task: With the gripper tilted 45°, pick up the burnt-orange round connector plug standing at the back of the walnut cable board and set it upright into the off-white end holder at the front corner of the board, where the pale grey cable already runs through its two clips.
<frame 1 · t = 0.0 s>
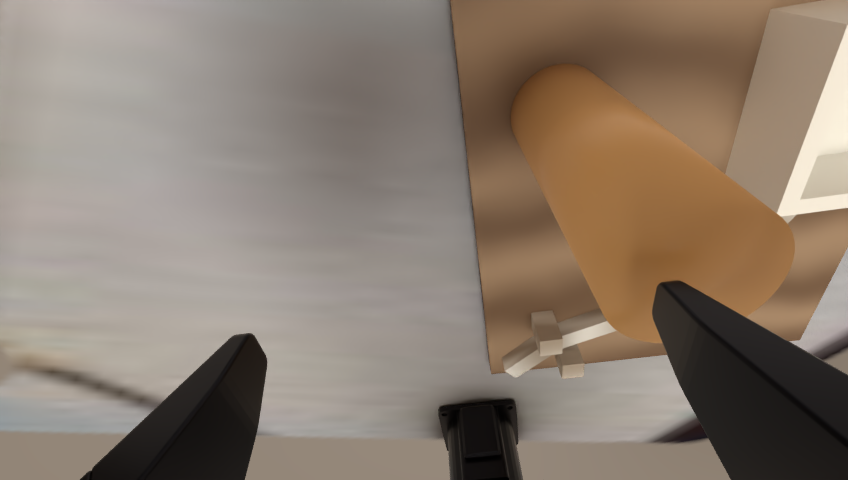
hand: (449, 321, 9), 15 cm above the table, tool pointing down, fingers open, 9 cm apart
plug: (557, 112, 21), point 1 cm above the table, touching cable board
end holder: (834, 89, 20), resting on cable board
cable board: (663, 198, 25), on the table
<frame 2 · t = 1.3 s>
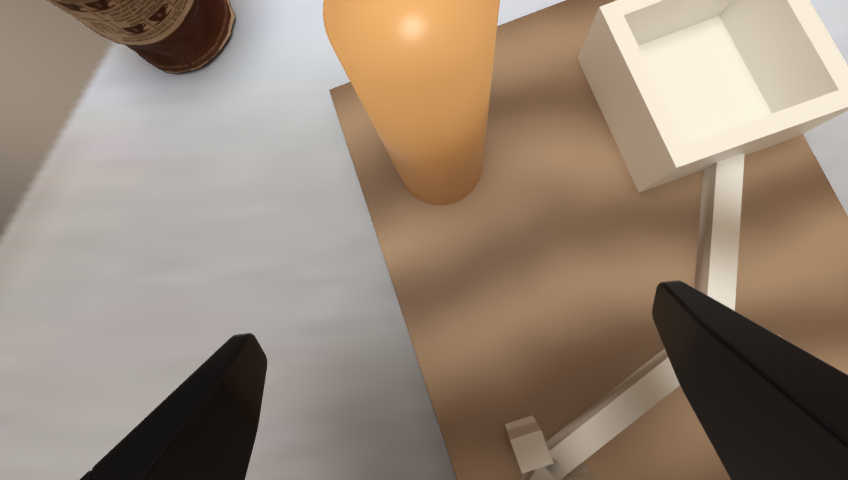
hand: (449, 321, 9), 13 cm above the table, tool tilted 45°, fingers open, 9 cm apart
plug: (440, 164, 23), point 1 cm above the table, touching cable board
end holder: (681, 96, 22), resting on cable board
coffee cup: (191, 32, 27), on the table
cable board: (598, 238, 23), on the table
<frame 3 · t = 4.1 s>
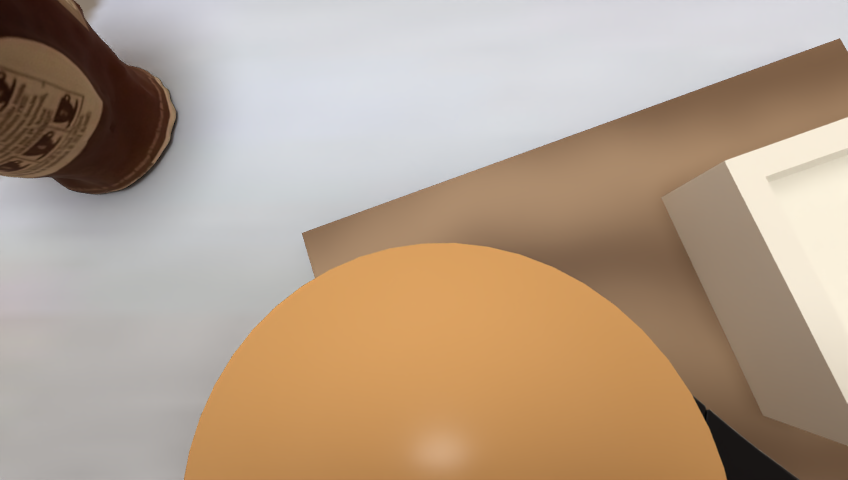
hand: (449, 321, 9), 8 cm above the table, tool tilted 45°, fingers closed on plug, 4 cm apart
plug: (462, 355, 16), point 1 cm above the table, touching cable board, gripper
end holder: (821, 263, 15), resting on cable board
coffee cup: (118, 134, 20), on the table
cable board: (696, 471, 15), on the table
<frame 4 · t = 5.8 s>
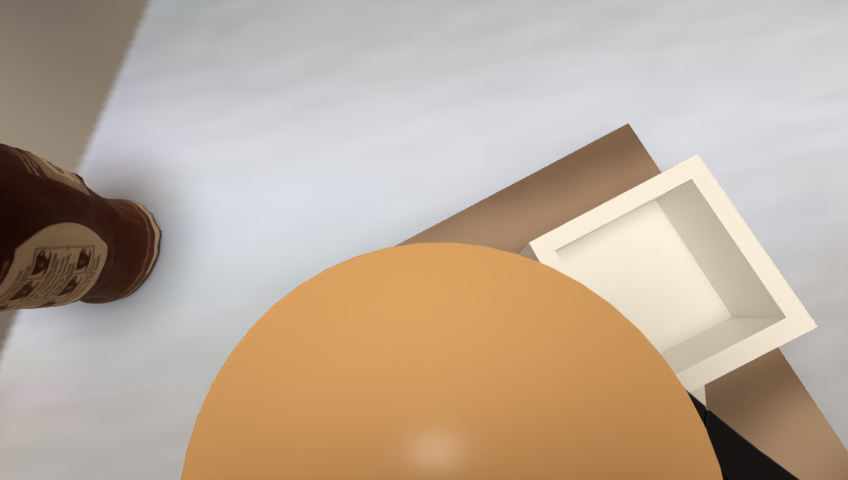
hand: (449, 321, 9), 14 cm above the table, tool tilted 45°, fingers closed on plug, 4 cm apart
plug: (461, 354, 16), point 7 cm above the table, touching gripper
end holder: (629, 287, 21), resting on cable board
coffee cup: (117, 252, 26), on the table
cable board: (566, 446, 21), on the table
when the fingers open (9 cm above the table, at t = 7.8 s): plug drops 1 cm, resting on end holder.
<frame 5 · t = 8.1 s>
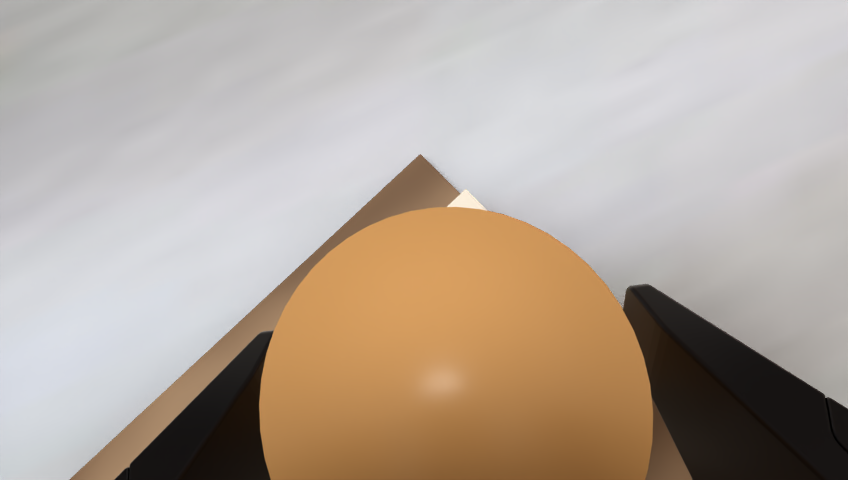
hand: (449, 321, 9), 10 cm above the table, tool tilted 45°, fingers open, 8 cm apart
plug: (462, 352, 17), point 2 cm above the table, touching end holder
end holder: (463, 349, 18), resting on cable board
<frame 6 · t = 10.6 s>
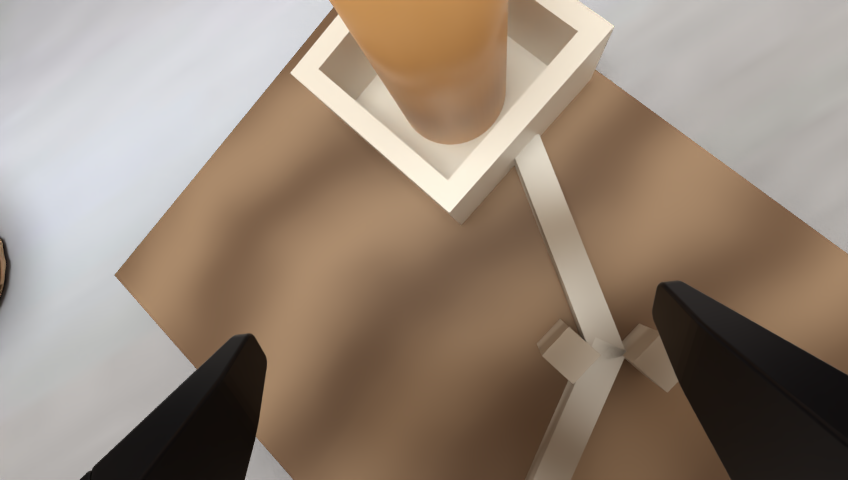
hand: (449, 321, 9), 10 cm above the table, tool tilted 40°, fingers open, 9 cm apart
plug: (452, 93, 18), point 2 cm above the table, touching end holder
end holder: (454, 96, 19), resting on cable board
cable board: (451, 288, 19), on the table
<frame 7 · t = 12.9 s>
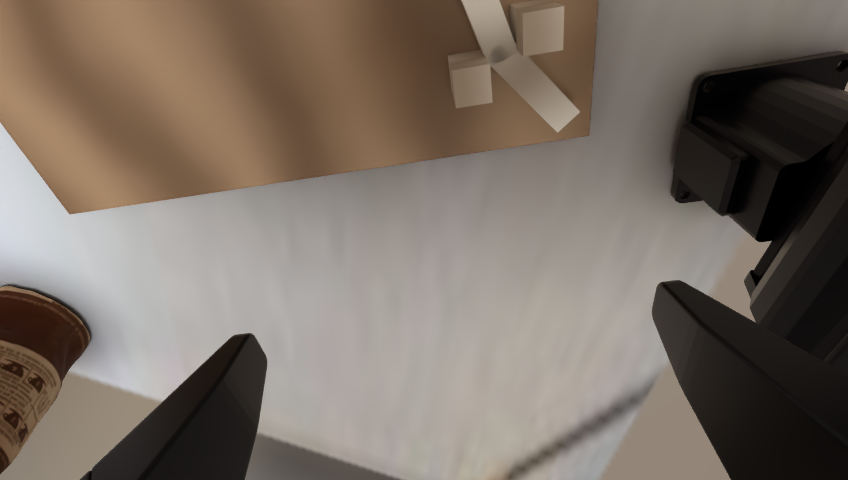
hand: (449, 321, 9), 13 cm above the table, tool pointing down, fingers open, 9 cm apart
coffee cup: (41, 318, 28), on the table
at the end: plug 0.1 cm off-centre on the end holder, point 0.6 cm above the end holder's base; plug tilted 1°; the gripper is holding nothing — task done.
